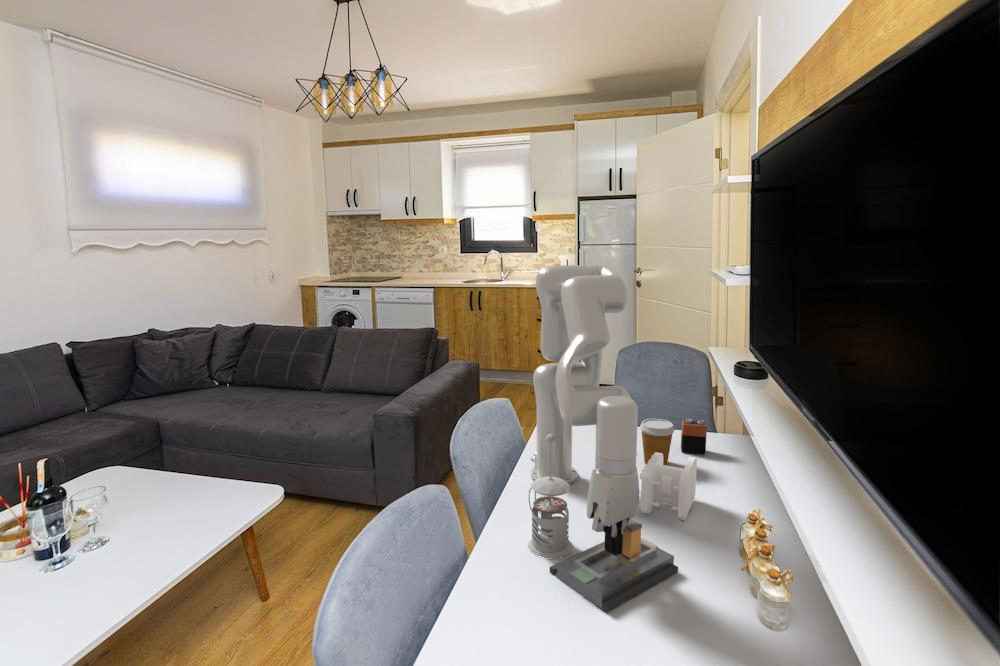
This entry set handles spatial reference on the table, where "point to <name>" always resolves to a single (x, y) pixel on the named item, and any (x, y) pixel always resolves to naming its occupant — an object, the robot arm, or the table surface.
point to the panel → (611, 570)
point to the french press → (550, 516)
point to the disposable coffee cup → (656, 438)
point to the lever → (632, 539)
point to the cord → (553, 569)
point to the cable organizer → (668, 485)
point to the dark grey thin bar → (639, 588)
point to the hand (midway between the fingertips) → (613, 551)
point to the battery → (693, 436)
